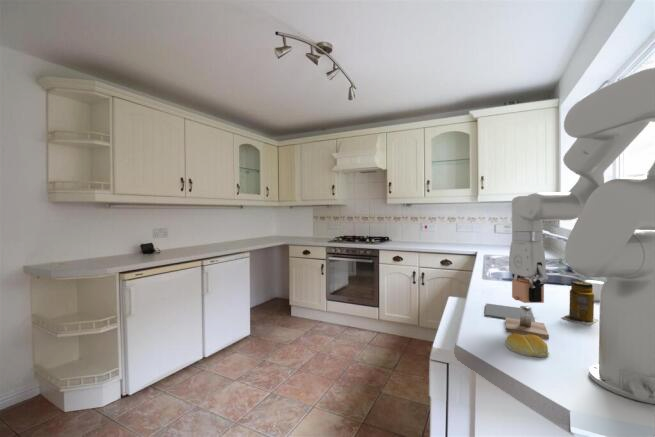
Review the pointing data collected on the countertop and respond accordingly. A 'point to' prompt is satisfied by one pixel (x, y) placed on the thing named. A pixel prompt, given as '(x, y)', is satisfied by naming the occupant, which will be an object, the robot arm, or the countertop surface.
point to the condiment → (581, 303)
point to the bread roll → (527, 345)
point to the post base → (526, 328)
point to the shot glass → (596, 288)
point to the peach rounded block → (523, 290)
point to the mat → (503, 312)
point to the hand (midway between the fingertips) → (527, 298)
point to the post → (525, 316)
